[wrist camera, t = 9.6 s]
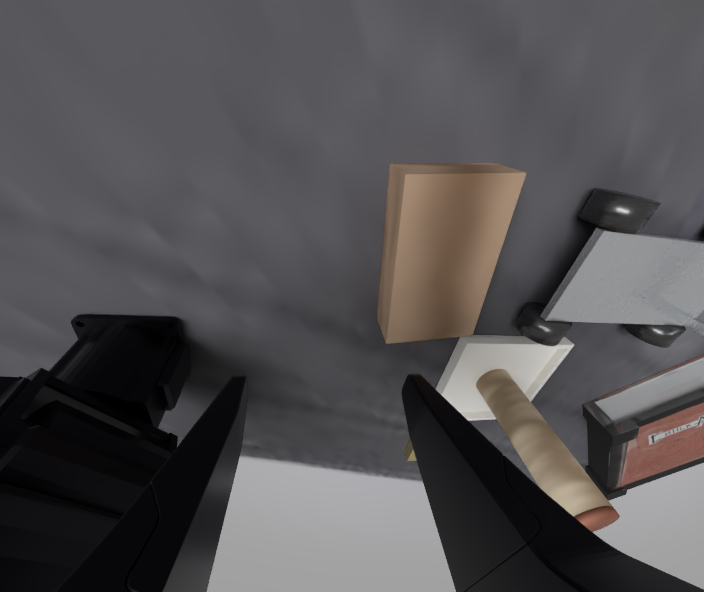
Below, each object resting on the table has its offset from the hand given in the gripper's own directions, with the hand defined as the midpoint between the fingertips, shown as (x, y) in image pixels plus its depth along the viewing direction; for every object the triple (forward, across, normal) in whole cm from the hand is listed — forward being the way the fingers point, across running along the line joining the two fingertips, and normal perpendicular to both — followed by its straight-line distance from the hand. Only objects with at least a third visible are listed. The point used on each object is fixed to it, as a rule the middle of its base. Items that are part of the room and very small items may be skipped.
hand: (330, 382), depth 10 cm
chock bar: (+12, -8, 0) cm, 15 cm away
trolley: (+12, -27, 0) cm, 29 cm away
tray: (+12, -20, +14) cm, 28 cm away
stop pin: (+12, -20, +14) cm, 27 cm away
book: (+13, -52, +25) cm, 59 cm away
